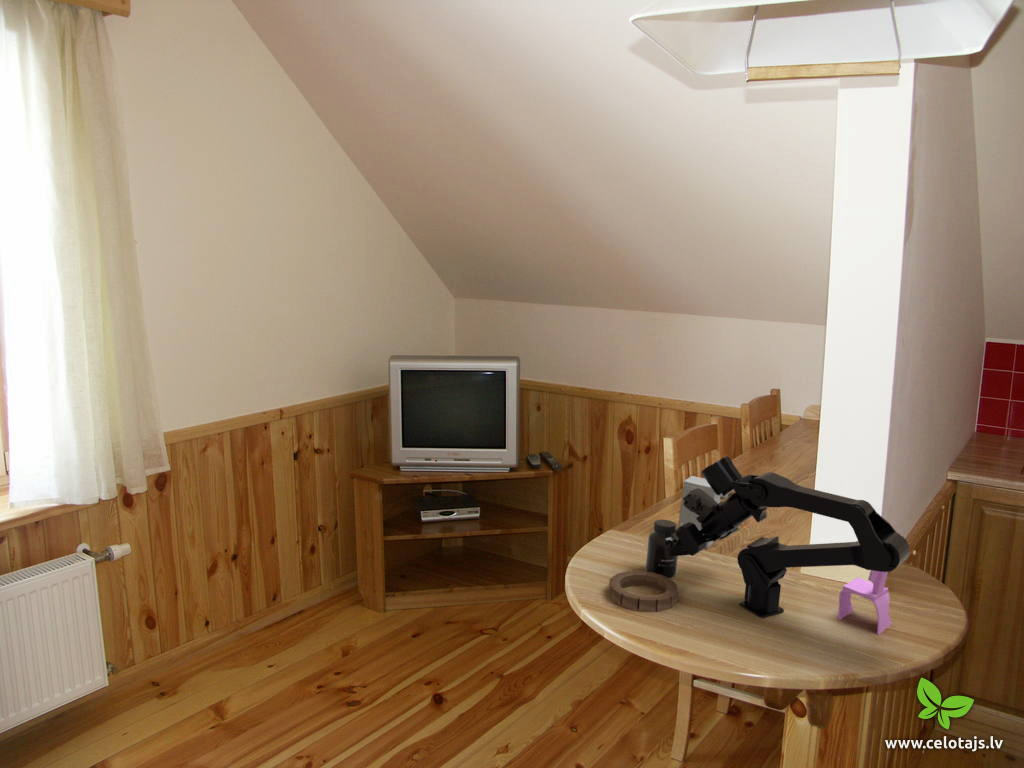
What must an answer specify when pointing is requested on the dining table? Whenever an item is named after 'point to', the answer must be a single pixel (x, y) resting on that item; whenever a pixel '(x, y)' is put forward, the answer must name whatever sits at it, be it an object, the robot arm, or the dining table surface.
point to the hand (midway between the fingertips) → (681, 548)
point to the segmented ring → (642, 601)
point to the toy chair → (868, 597)
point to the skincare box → (686, 513)
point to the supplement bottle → (662, 549)
